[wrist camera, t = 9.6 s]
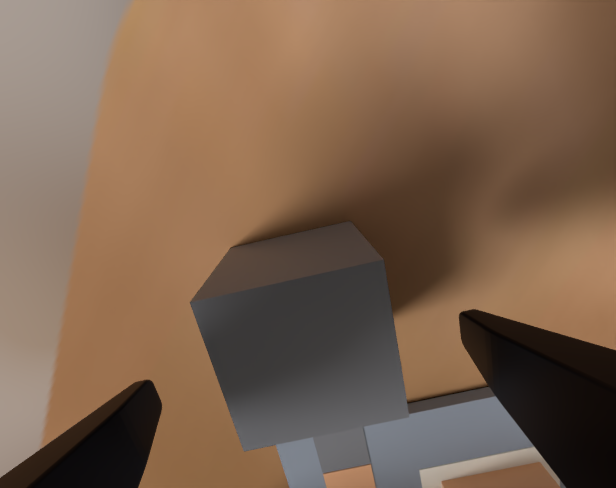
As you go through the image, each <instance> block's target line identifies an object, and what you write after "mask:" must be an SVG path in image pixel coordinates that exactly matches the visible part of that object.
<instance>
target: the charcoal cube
mask: <svg viewBox="0 0 616 488" xmlns="http://www.w3.org/2000/svg"><path fill="white" fill-rule="evenodd" d="M190 304H191V307H192V310H193V313H194V315H195V318H196V321H197V324H198V326H199V329H200V332H201V335H202V337H203V340H204V343H205V346H206V348H207V351H208V354H209V357H210V359H211V362H212V365H213V368H214V370H215V373H216V376H217V379H218V381H219V384H220V387H221V390H222V392H223V395H224V398H225V401H226V403H227V406H228V409H229V412H230V414H231V417H232V420H233V423H234V425H235V428H236V431H237V434H238V436H239V439H240V442H241V445H242V447H243V450H244V451H249V450H254V449H258V448H263V447H268V446H273V445H278V444H283V443H287V442H292V441H297V440H302V439H307V438H312V437H316V436H321V435H326V434H331V433H336V432H341V431H345V430H350V429H355V428H360V427H365V426H370V425H374V424H379V423H384V422H389V421H394V420H399V419H403V418H408V417H409V411H408V405H407V399H406V393H405V387H404V381H403V374H402V368H401V362H400V356H399V350H398V344H397V338H396V332H395V325H394V319H393V313H392V307H391V301H390V295H389V289H388V282H387V276H386V270H385V264H384V259H383V258H382V257H381V256H380V255H379V253H378V252H377V251H376V250H375V249H374V248H373V246H372V245H371V244H370V243H369V242H368V241H367V239H366V238H365V237H364V236H363V235H362V234H361V233H360V231H359V230H358V229H357V228H356V227H355V226H354V224H353V223H352V222H351V221H348V222H343V223H339V224H334V225H330V226H325V227H321V228H317V229H312V230H308V231H303V232H299V233H294V234H290V235H285V236H281V237H277V238H272V239H268V240H263V241H259V242H254V243H250V244H246V245H241V246H237V247H232V248H230V249H229V251H228V252H227V253H226V255H225V256H224V257H223V259H222V260H221V261H220V263H219V264H218V265H217V267H216V268H215V269H214V271H213V272H212V273H211V275H210V276H209V277H208V279H207V280H206V282H205V283H204V284H203V286H202V287H201V288H200V290H199V291H198V292H197V294H196V295H195V296H194V298H193V299H192V300H191V302H190Z"/></svg>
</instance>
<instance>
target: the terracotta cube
mask: <svg viewBox="0 0 616 488" xmlns="http://www.w3.org/2000/svg"><path fill="white" fill-rule="evenodd" d="M441 483H442V488H561V487H560V486H559V485H558V484H557V482H556V481H555V480H554V479H553V477H552V476H551V475H550V474H549V472H548V471H547V470H546V469H545V468H544V466H543V465H542V464H541V463H540V462H537V463H531V464H526V465H521V466H516V467H511V468H506V469H501V470H496V471H491V472H486V473H481V474H476V475H471V476H465V477H460V478H455V479H450V480H445V481H441Z"/></svg>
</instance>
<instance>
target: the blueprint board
mask: <svg viewBox="0 0 616 488" xmlns="http://www.w3.org/2000/svg"><path fill="white" fill-rule="evenodd" d="M407 405H408V411H409V417H408V418H403V419H399V420H394V421H389V422H384V423H379V424H374V425H370V426H365V427H360V428H355V429H350V430H345V431H341V432H336V433H331V434H326V435H321V436H316V437H312V438H307V439H302V440H297V441H292V442H287V443H283V444H278V445H276V447H277V450H278V453H279V456H280V459H281V462H282V466H283V469H284V472H285V475H286V478H287V481H288V484H289V487H290V488H442V483H441V481H445V480H450V479H455V478H460V477H465V476H471V475H476V474H481V473H486V472H491V471H496V470H501V469H506V468H511V467H516V466H521V465H526V464H531V463H537V462H540V463H541V464H542V465H543V466H544V468H545V469H546V470H547V471H548V472H549V474H550V475H551V476H552V477H553V479H554V480H555V481H556V482H557V484H558V485H559V486H560V487H561V488H566V487H565V486H564V485H563V483H562V482H561V481H560V479H559V478H558V477H557V475H556V474H555V473H554V472H553V470H552V469H551V468H550V466H549V465H548V464H547V463H546V461H545V460H544V459H543V457H542V456H541V455H540V453H539V452H538V451H537V450H536V448H535V447H534V446H533V444H532V443H531V442H530V441H529V439H528V438H527V437H526V435H525V434H524V433H523V431H522V430H521V429H520V428H519V426H518V425H517V424H516V422H515V421H514V420H513V419H512V417H511V416H510V415H509V413H508V412H507V411H506V409H505V408H504V407H503V406H502V404H501V403H500V402H499V400H498V399H497V398H496V396H495V395H494V393H493V392H492V390H491V389H490V387H485V388H481V389H476V390H471V391H466V392H461V393H456V394H452V395H447V396H442V397H437V398H432V399H428V400H423V401H418V402H413V403H408V404H407Z"/></svg>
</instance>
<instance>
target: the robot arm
mask: <svg viewBox="0 0 616 488" xmlns="http://www.w3.org/2000/svg"><path fill="white" fill-rule="evenodd" d="M459 323H460V333H461V340H462V343H463V345H464V347H465V349H466V350H467V352H468V354H469V355H470V357H471V358H472V360H473V362H474V363H475V365H476V366H477V368H478V370H479V371H480V373H481V374H482V376H483V378H484V379H485V381H486V383H487V384H488V386H489V387H490V389H491V390H492V392H493V393H494V395H495V396H496V398H497V399H498V400H499V402H500V403H501V404H502V406H503V407H504V408H505V409H506V411H507V412H508V413H509V415H510V416H511V417H512V419H513V420H514V421H515V422H516V424H517V425H518V426H519V428H520V429H521V430H522V431H523V433H524V434H525V435H526V437H527V438H528V439H529V441H530V442H531V443H532V444H533V446H534V447H535V448H536V450H537V451H538V452H539V453H540V455H541V456H542V457H543V459H544V460H545V461H546V463H547V464H548V465H549V466H550V468H551V469H552V470H553V472H554V473H555V474H556V475H557V477H558V478H559V479H560V481H561V482H562V483H563V485H564V486H565V487H566V488H616V350H613V349H609V348H606V347H603V346H599V345H596V344H592V343H589V342H585V341H582V340H579V339H575V338H572V337H568V336H565V335H561V334H558V333H555V332H551V331H548V330H544V329H541V328H538V327H534V326H531V325H527V324H524V323H520V322H517V321H514V320H510V319H507V318H503V317H500V316H496V315H493V314H490V313H486V312H483V311H479V310H476V309H472V310H468V311H463V312H461V313H460V314H459ZM161 410H162V403H161V400H160V398H159V395H158V393H157V391H156V388H155V386H154V384H153V382H152V381H151V380H143V381H138V382H135V383H133V384H132V385H130V386H129V387H128V388H126V389H125V390H123V391H122V392H121V393H119V394H118V395H116V396H115V397H113V398H112V399H111V400H109V401H108V402H106V403H105V404H104V405H102V406H101V407H99V408H98V409H97V410H95V411H94V412H92V413H91V414H90V415H88V416H87V417H85V418H84V419H82V420H81V421H80V422H78V423H77V424H75V425H74V426H73V427H71V428H70V429H68V430H67V431H66V432H64V433H63V434H61V435H60V436H58V437H57V438H56V439H54V440H53V441H51V442H50V443H49V444H47V445H46V446H44V447H43V448H42V449H40V450H39V451H37V452H36V453H35V454H33V455H32V456H30V457H29V458H28V459H26V460H25V461H24V462H22V463H20V464H19V465H18V466H16V467H15V468H13V469H12V470H11V471H9V472H8V473H6V474H5V475H4V476H2V477H1V478H0V488H138V486H139V484H140V481H141V478H142V476H143V473H144V470H145V467H146V464H147V460H148V457H149V454H150V450H151V447H152V443H153V439H154V436H155V432H156V429H157V425H158V422H159V418H160V414H161Z"/></svg>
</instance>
